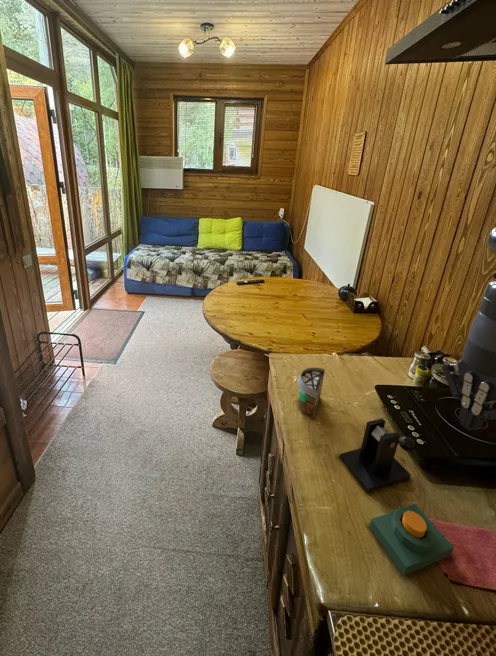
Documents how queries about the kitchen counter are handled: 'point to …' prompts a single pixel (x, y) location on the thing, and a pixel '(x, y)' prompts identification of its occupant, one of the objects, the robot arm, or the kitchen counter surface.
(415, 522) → the button
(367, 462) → the bracket
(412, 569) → the button panel
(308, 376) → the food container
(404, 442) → the lever
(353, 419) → the kitchen counter surface
